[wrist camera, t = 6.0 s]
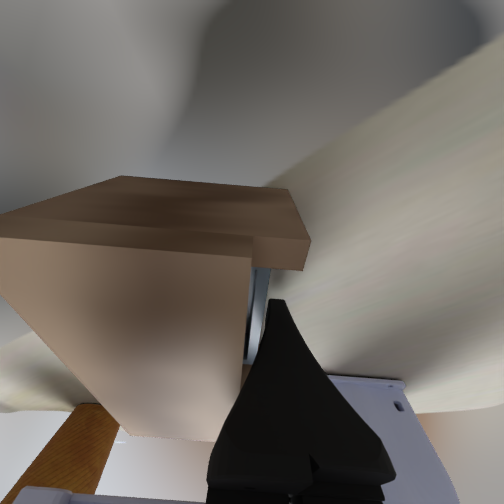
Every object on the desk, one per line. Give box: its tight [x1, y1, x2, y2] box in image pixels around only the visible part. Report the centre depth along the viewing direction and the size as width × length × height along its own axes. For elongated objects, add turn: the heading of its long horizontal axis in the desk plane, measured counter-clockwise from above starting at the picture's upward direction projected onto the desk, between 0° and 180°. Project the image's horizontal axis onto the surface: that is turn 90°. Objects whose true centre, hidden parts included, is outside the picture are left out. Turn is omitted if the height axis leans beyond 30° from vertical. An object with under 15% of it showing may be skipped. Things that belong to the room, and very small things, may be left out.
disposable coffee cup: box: [0, 404, 120, 504], centre depth 22 cm, size 10×10×12 cm
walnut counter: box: [0, 176, 311, 442], centre depth 10 cm, size 8×14×6 cm, turn 176°
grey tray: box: [243, 267, 271, 365], centre depth 12 cm, size 5×9×3 cm, turn 176°
